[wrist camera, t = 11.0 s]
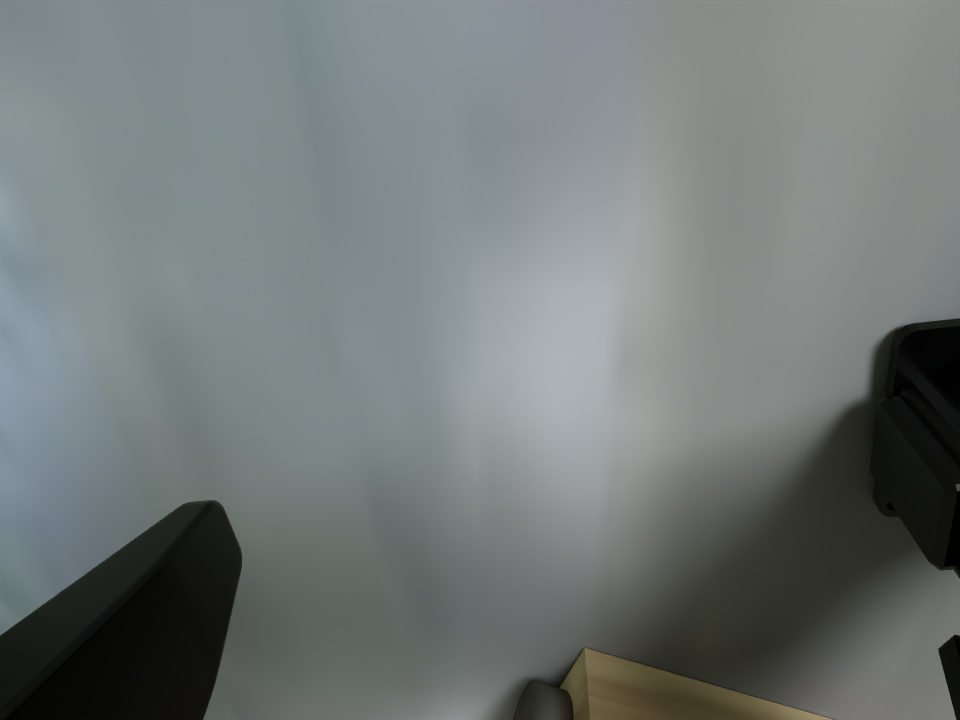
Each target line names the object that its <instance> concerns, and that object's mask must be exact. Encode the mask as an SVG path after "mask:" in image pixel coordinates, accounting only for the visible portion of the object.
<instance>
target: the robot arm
mask: <svg viewBox="0 0 960 720" xmlns="http://www.w3.org/2000/svg"><path fill="white" fill-rule="evenodd" d="M918 338H921V340H920V343H919V344H918V345H916V346H915V347H912V348H908V346H909V344H910V343H911V342H912V341H913V340H915V339H918ZM870 472H871V474H872V475H873V477H874V478H875V485H874V493H873V501H874V503H875V505H876V507H877V508H878V510H879V511H880V512H881V513H882V514H883V515H885V516H887V517H900V518H901V520H902V521H903V523H904V524H905V526H906V527H907V529H908V531H909V532H910V534H911V535H912V537H913V538H914V540H915V541H916V543H917V544H918V546H919V547H920V549H921V550H922V552H923V553H924V555H925V557H926V558H927V560H928V561H929V562H930V563H931V564H932V565H933V566H935V567H936V568H937V569H938V570H952V569H954V571H955V572H956V574H957V575H958V577H959V578H960V319H950V320H941V321H932V322H923V323H913V324H910V325H906V326H904V327H903V328H901V329H900V330H899V331H898V332H897V333H896V334H895V335H894V338H893V341H892V347H891V355H890V363H889V371H888V379H887V388H886V396H884V397H883V398H882V399H881V400H880V401H879V403H878V404H877V411H876V420H875V428H874V436H873V445H872V453H871V462H870ZM888 501H890V502H888ZM241 568H242V553H241V549H240V546H239V543H238V541H237V538H236V536H235V534H234V531H233V529H232V526H231V524H230V521H229V519H228V517H227V514H226V512H225V510H224V508H223V506H222V505H221V504H220V503H219V502H217V501H215V500H208V501H197V502H188V503H185V504H183V505H181V506H180V507H178V508H177V509H176V510H174V511H173V512H171V513H170V514H169V515H167V516H166V517H164V518H163V519H162V520H160V521H159V522H157V523H156V524H155V525H153V526H152V527H150V528H149V529H148V530H146V531H145V532H144V533H142V534H141V535H139V536H138V537H137V538H135V539H134V540H132V541H131V542H130V543H128V544H127V545H125V546H124V547H123V548H121V549H120V550H119V551H117V552H116V553H114V554H113V555H112V556H110V557H109V558H107V559H106V560H105V561H103V562H102V563H100V564H99V565H98V566H96V567H95V568H93V569H92V570H91V571H89V572H88V573H87V574H85V575H84V576H82V577H81V578H80V579H78V580H77V581H75V582H74V583H73V584H71V585H70V586H68V587H67V588H66V589H64V590H63V591H61V592H60V593H59V594H57V595H56V596H55V597H53V598H52V599H50V600H49V601H48V602H46V603H45V604H43V605H42V606H41V607H39V608H38V609H36V610H35V611H34V612H32V613H31V614H29V615H28V616H27V617H25V618H24V619H23V620H21V621H20V622H18V623H17V624H16V625H14V626H13V627H11V628H10V629H9V630H7V631H6V632H4V633H3V634H2V635H0V720H203V718H204V716H205V713H206V710H207V707H208V704H209V701H210V698H211V694H212V691H213V688H214V685H215V682H216V678H217V674H218V670H219V666H220V662H221V658H222V653H223V649H224V644H225V640H226V636H227V631H228V627H229V622H230V618H231V613H232V609H233V604H234V600H235V595H236V591H237V587H238V582H239V578H240V573H241ZM938 651H939V655H940V659H941V663H942V666H943V670H944V674H945V678H946V682H947V685H948V689H949V693H950V697H951V701H952V705H953V708H954V712H955V716H956V720H960V636H959V635H954V636H953V637H951V638H950V639H949V640H948V641H947V642H946V643H944V644H943V645H942V646H941V647H940V648H939V650H938Z"/></svg>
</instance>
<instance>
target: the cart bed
mask: <svg viewBox="0 0 960 720" xmlns="http://www.w3.org/2000/svg"><path fill="white" fill-rule="evenodd" d="M513 720H833V719H829V718H826V717H822V716H819V715H815V714H812V713H809V712H805V711H802V710H798V709H795V708H791V707H788V706H784V705H781V704H777V703H774V702H771V701H767V700H764V699H760V698H757V697H753V696H750V695H746V694H743V693H739V692H736V691H732V690H729V689H726V688H722V687H719V686H715V685H712V684H708V683H705V682H701V681H698V680H694V679H691V678H688V677H684V676H681V675H677V674H674V673H670V672H667V671H663V670H660V669H656V668H653V667H650V666H646V665H643V664H639V663H636V662H632V661H629V660H625V659H622V658H618V657H615V656H612V655H608V654H605V653H601V652H598V651H594V650H591V649H587V648H584V649H583V651H582V653H581V654H580V656H579V657H578V659H577V661H576V662H575V664H574V665H573V667H572V669H571V670H570V672H569V673H568V675H567V677H566V678H565V680H564V681H563V683H562V685H561V686H560V688H557V687H554V686H550V685H547V684H543V683H540V682H536V681H532V682H530V683H529V684H528V685H527V687H526V688H525V690H524V691H523V693H522V695H521V697H520V700H519V702H518V705H517V708H516V711H515V714H514V718H513Z"/></svg>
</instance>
